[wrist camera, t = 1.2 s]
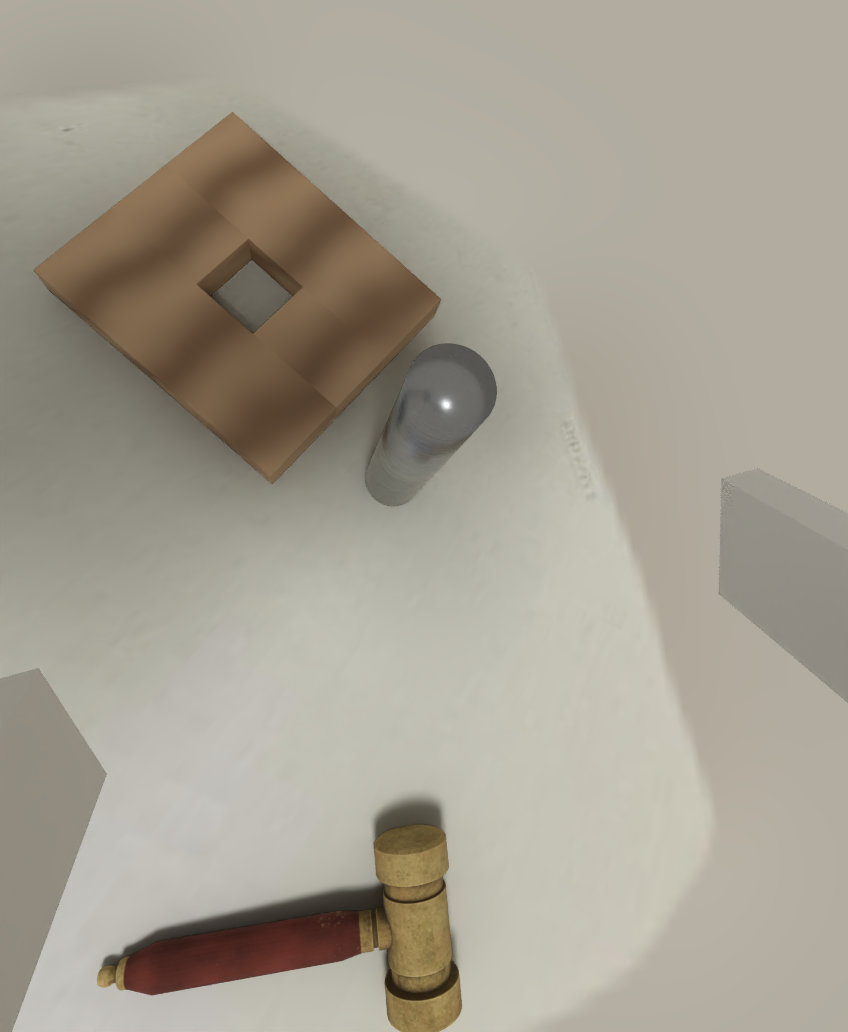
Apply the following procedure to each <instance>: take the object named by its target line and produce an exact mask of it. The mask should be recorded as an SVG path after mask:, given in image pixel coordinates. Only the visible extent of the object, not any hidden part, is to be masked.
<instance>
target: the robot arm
mask: <svg viewBox="0 0 848 1032" xmlns="http://www.w3.org/2000/svg"><path fill="white" fill-rule="evenodd" d="M720 528H721V529H720V567H719V594H720V595H721V596H722V597H723V598H724V599H726V600H727V601H728V602H729V603H730V604H731V605H732V606H734V607H735V608H736V609H737V610H738V611H740V612H741V613H742V614H743V615H744V616H746V617H747V618H748V619H749V620H750V621H752V622H753V623H754V624H755V625H756V626H757V627H759V628H760V629H761V630H762V631H763V632H764V633H766V634H767V635H768V636H769V637H770V638H772V639H773V640H774V641H775V642H776V643H778V644H779V645H780V646H781V647H782V648H784V649H785V650H786V651H787V652H788V653H789V654H791V655H792V656H793V657H794V658H795V659H796V660H798V661H799V662H800V663H801V664H802V665H804V666H805V667H806V668H807V669H808V670H810V671H811V672H812V673H813V674H814V675H816V676H817V677H818V678H819V679H820V680H821V681H823V682H824V683H825V684H826V685H827V686H829V687H830V688H831V689H832V690H833V691H834V692H836V693H837V694H838V695H839V696H840V697H842V698H843V699H844V700H845V701H846V702H848V513H847V512H844V511H843V510H840V509H838V508H836V507H834V506H832V505H830V504H828V503H826V502H824V501H822V500H820V499H818V498H816V497H814V496H812V495H810V494H808V493H806V492H804V491H802V490H800V489H798V488H796V487H794V486H792V485H790V484H788V483H786V482H784V481H782V480H780V479H778V478H776V477H774V476H772V475H770V474H768V473H766V472H764V471H762V470H760V469H754V470H751V471H747V472H744V473H740V474H736V475H733V476H729V477H725V478H722V482H721V524H720ZM106 775H107V773H106V772H105V770H104V769H103V767H102V766H101V764H100V762H99V761H98V759H97V758H96V756H95V755H94V753H93V752H92V750H91V749H90V747H89V745H88V744H87V742H86V741H85V739H84V738H83V736H82V735H81V733H80V732H79V730H78V728H77V727H76V725H75V724H74V722H73V721H72V719H71V718H70V716H69V715H68V713H67V711H66V710H65V708H64V707H63V705H62V704H61V702H60V701H59V699H58V698H57V696H56V694H55V693H54V691H53V690H52V688H51V687H50V685H49V684H48V682H47V681H46V679H45V677H44V676H43V674H42V673H41V671H40V670H39V668H38V669H34V670H30V671H27V672H23V673H20V674H16V675H12V676H9V677H5V678H2V679H0V1032H12V1030H13V1027H14V1024H15V1022H16V1019H17V1016H18V1014H19V1011H20V1008H21V1005H22V1003H23V1000H24V997H25V995H26V992H27V989H28V986H29V984H30V981H31V978H32V976H33V973H34V970H35V967H36V965H37V962H38V959H39V957H40V954H41V951H42V948H43V946H44V943H45V940H46V938H47V935H48V932H49V929H50V927H51V924H52V921H53V919H54V916H55V913H56V910H57V908H58V905H59V902H60V900H61V897H62V894H63V891H64V889H65V886H66V883H67V881H68V878H69V875H70V872H71V870H72V867H73V864H74V862H75V859H76V856H77V853H78V851H79V848H80V845H81V843H82V840H83V837H84V834H85V832H86V829H87V826H88V824H89V821H90V818H91V815H92V813H93V810H94V807H95V805H96V802H97V799H98V796H99V794H100V791H101V788H102V786H103V783H104V780H105V777H106Z"/></svg>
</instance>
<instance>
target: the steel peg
mask: <svg viewBox="0 0 848 1032" xmlns="http://www.w3.org/2000/svg"><path fill="white" fill-rule="evenodd" d="M496 395H497V387H496V381H495V378H494V375H493V373H492V370H491V369H490V367H489V365H488V364H487V363H486V361H485V360H484V359H483V358H482V357H481V356H480V355H478V354H477V353H476V352H474V351H473V350H471V349H469V348H467V347H464V346H461V345H457V344H449V343H448V344H439V345H435V346H432V347H430V348H428V349H426V350H425V351H423V352H422V353H421V354H419V355H418V356H417V358H416V359H415V360H414V362H413V363H412V365H411V367H410V369H409V372H408V374H407V376H406V379H405V381H404V383H403V386H402V388H401V390H400V393H399V395H398V397H397V400H396V402H395V404H394V407H393V409H392V411H391V414H390V416H389V419H388V421H387V423H386V426H385V428H384V430H383V433H382V435H381V437H380V440H379V442H378V444H377V447H376V449H375V451H374V454H373V456H372V458H371V461H370V463H369V465H368V468H367V470H366V474H365V482H366V487H367V489H368V491H369V493H370V494H371V496H372V497H373V498H374V499H375V500H377V501H378V502H380V503H382V504H384V505H387V506H399V505H403V504H405V503H407V502H409V501H410V500H411V499H412V498H413V497H414V496H415V495H416V494H417V493H418V492H419V491H420V490H421V488H422V487H423V486H424V485H425V484H426V483H427V482H428V481H429V480H430V479H431V478H432V477H433V475H434V474H435V473H436V472H437V471H438V470H439V469H440V468H441V467H442V466H443V465H444V464H445V463H446V461H447V460H448V459H449V458H450V457H451V456H452V455H453V454H454V453H455V452H456V451H457V450H458V449H459V447H460V446H461V445H462V444H463V443H464V442H465V441H466V440H467V439H468V438H469V437H470V436H471V435H472V433H473V432H474V431H475V430H476V429H477V428H478V427H479V426H480V425H481V424H482V423H483V422H484V420H485V419H486V418H487V417H488V416H489V414H490V413H491V411H492V409H493V407H494V405H495V401H496Z"/></svg>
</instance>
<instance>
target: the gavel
mask: <svg viewBox="0 0 848 1032" xmlns="http://www.w3.org/2000/svg"><path fill="white" fill-rule="evenodd" d="M374 853H375V865H376V876H377V878H378V879H379V881H381V882H382V883H384V884H385V887H384V889H383V902H384V907H379V908H376V911H375V912H371V909H370V910H365V911H335V912H329V913H323V914H317V915H311V916H305V917H299V918H293V919H288V920H282V921H276V922H270V923H264V924H258V925H252V926H246V927H240V928H234V929H228V930H222V931H216V932H210V933H205V934H199V935H193V936H187V937H181V938H175V939H169V940H163V941H157V942H155V943H153V944H151V945H150V946H148V947H146V948H144V949H142V950H140V951H138V952H137V953H135V954H133V955H131V956H127V957H124V958H123V959H121V960H120V962H119V964H118V966H116V967H114V966H112V965H108V966H105V967H103V968H102V969H101V970H100V971H99V973H98V977H97V984H98V986H100V987H108V986H110V985H111V984H113V983H116V987H117V988H118V989H119V990H131V991H135V992H140V993H144V994H148V995H156V994H162V993H168V992H173V991H179V990H184V989H190V988H195V987H201V986H206V985H212V984H217V983H223V982H228V981H234V980H239V979H245V978H251V977H256V976H262V975H267V974H273V973H278V972H284V971H289V970H295V969H300V968H306V967H311V966H317V965H323V964H328V963H334V962H339V961H343V960H345V959H348V958H351V957H353V956H356V955H358V954H361V953H365V952H371V951H374V948H376V947H379V951H380V950H385V949H387V952H388V963H389V966H390V968H391V969H390V970H389V971H388V973H387V974H386V977H385V992H386V1005H387V1016H388V1020H389V1021H390V1023H391V1025H392V1026H393V1027H395V1028H396V1029H397V1030H399V1031H401V1032H439V1031H441V1030H443V1029H445V1028H447V1027H448V1026H450V1025H451V1024H452V1023H453V1022H454V1021H455V1020H456V1019H457V1018H458V1016H459V1015H460V1012H461V1009H462V999H461V989H460V978H459V970H458V967H457V965H456V964H455V963H454V962H453V961H452V960H451V958H452V948H451V937H450V927H449V916H448V906H447V895H446V885H445V882H444V880H443V879H442V876H443V875H444V874H445V873H446V872H447V870H448V868H449V863H448V853H447V843H446V834H445V833H444V832H443V831H442V830H441V829H439V828H437V827H434V826H431V825H424V824H415V825H409V826H404V827H398V828H393V829H390V830H388V831H386V832H384V833H383V834H381V835H380V836H379V837H378V838H377V839H376V840H375V842H374Z"/></svg>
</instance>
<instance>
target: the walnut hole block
mask: <svg viewBox="0 0 848 1032" xmlns="http://www.w3.org/2000/svg"><path fill="white" fill-rule="evenodd" d="M251 259H252V260H253V261H254V262H255V263H256V264H257V265H259V266H260V267H261V268H262V269H263V270H264V271H265V272H266V273H268V274H269V275H270V276H271V277H272V278H273V279H274V280H275V281H277V282H278V283H279V284H280V285H281V286H282V287H283V288H284V289H286V290H287V291H288V292H289V293H290V294H291V295H292V296H293V297H292V298H291V299H290V300H289V301H288V302H286V303H285V304H284V305H283V306H282V307H281V308H280V309H279V310H278V311H277V312H276V313H275V314H274V315H273V316H272V317H270V318H269V319H268V320H267V321H266V322H265V323H264V324H263V325H262V326H261V327H260V328H259V329H258V330H257V331H255V332H254V333H253V334H252V333H251V332H250V331H249V330H248V329H247V328H245V327H244V326H243V325H242V324H241V323H240V322H239V321H237V320H236V319H235V318H234V317H233V316H232V315H231V314H230V313H228V312H227V311H226V310H225V309H224V308H223V307H222V306H220V305H219V304H218V303H217V302H216V301H215V300H214V299H212V298H211V297H210V296H211V295H212V294H213V293H214V292H216V291H217V290H218V289H219V288H220V287H221V286H222V285H223V284H225V283H226V282H227V281H228V280H229V279H230V278H231V277H232V276H234V275H235V274H236V273H237V272H238V271H239V270H240V269H241V268H243V267H244V266H245V265H246V264H247V263H248V262H249V261H250V260H251ZM34 272H35V273H36V274H37V275H38V277H39V278H40V279H41V280H42V282H43V283H44V284H45V286H46V287H47V288H48V289H49V291H51V292H52V293H53V294H54V295H55V296H56V297H57V298H59V299H60V300H61V301H62V302H63V303H64V304H66V305H67V306H68V307H69V308H70V309H71V310H72V311H74V312H75V313H76V314H77V315H78V316H79V317H80V318H82V319H83V320H84V321H85V322H86V323H87V324H89V325H90V326H91V327H92V328H93V329H94V330H95V331H97V332H98V333H99V334H100V335H101V336H102V337H104V338H105V339H106V340H107V341H108V342H109V343H110V344H112V345H113V346H114V347H115V348H116V349H117V350H119V351H120V352H121V353H122V354H123V355H124V356H125V357H127V358H128V359H129V360H130V361H131V362H132V363H134V364H135V365H136V366H137V367H138V368H139V369H140V370H142V371H143V372H144V373H145V374H146V375H147V376H149V377H150V378H151V379H152V380H153V381H154V382H155V383H157V384H158V385H159V386H160V387H161V388H162V389H163V390H165V391H166V392H167V393H168V394H169V395H170V396H172V397H173V398H174V399H175V400H176V401H177V402H178V403H180V404H181V405H182V406H183V407H184V408H185V409H187V410H188V411H189V412H190V413H191V414H192V415H193V416H195V417H196V418H197V419H198V420H199V421H200V422H202V423H203V424H204V425H205V426H206V427H207V428H208V429H210V430H211V431H212V432H213V433H214V434H215V435H217V436H218V437H219V438H220V439H221V440H222V441H223V442H225V443H226V444H227V445H228V446H229V447H230V448H232V449H233V450H234V451H235V452H236V453H237V454H238V455H240V456H241V457H242V458H243V459H244V460H245V461H246V462H248V463H249V464H250V465H251V466H252V467H253V468H255V469H256V470H257V471H258V472H259V473H260V474H261V475H263V476H264V477H265V478H266V479H267V480H268V481H270V482H271V483H272V484H273V483H274V482H275V481H276V480H277V479H278V478H279V477H280V476H281V475H282V474H283V473H284V472H285V470H286V469H287V468H288V467H289V466H290V465H291V464H292V463H293V462H294V461H295V460H296V459H297V458H298V457H299V456H300V455H301V454H302V453H303V452H304V451H305V450H306V449H307V448H308V447H309V446H310V444H311V443H312V442H313V441H314V440H315V439H316V438H317V437H318V436H319V435H320V434H321V433H322V432H323V431H324V430H325V429H326V428H327V427H328V426H329V425H330V424H331V423H332V422H333V421H334V420H335V419H336V417H337V416H338V415H339V414H340V413H341V412H342V411H343V410H344V409H345V408H346V407H347V406H348V405H349V404H350V403H351V402H352V401H353V400H354V399H355V398H356V397H357V396H358V395H359V394H360V393H361V392H362V390H363V389H364V388H365V387H366V386H367V385H368V384H369V383H370V382H371V381H372V380H373V379H374V378H375V377H376V376H377V375H378V374H379V373H380V372H381V371H382V370H383V369H384V368H385V367H386V366H387V365H388V363H389V362H390V361H391V360H392V359H393V358H394V357H395V356H396V355H397V354H398V353H399V352H400V351H401V350H402V349H403V348H404V347H405V346H406V345H407V344H408V343H409V342H410V341H411V340H412V339H413V338H414V336H415V335H416V334H417V333H418V332H419V331H420V330H421V329H422V328H423V327H424V326H425V325H426V324H427V323H428V322H429V321H430V320H431V319H432V318H433V317H434V315H435V313H436V311H437V308H438V306H439V304H440V301H441V299H440V298H439V297H438V296H437V295H436V294H435V293H434V292H433V291H431V290H430V289H429V288H428V287H427V286H426V285H425V284H424V283H423V282H421V281H420V280H419V279H418V278H417V277H416V276H415V275H414V274H413V273H411V272H410V271H409V270H408V269H407V268H406V267H405V266H404V265H402V264H401V263H400V262H399V261H398V260H397V259H396V258H395V257H394V256H392V255H391V254H390V253H389V252H388V251H387V250H386V249H385V248H384V247H382V246H381V245H380V244H379V243H378V242H377V241H376V240H375V239H374V238H372V237H371V236H370V235H369V234H368V233H367V232H366V231H365V230H364V229H362V228H361V227H360V226H359V225H358V224H357V223H356V222H355V221H354V220H352V219H351V218H350V217H349V216H348V215H347V214H346V213H345V212H343V211H342V210H341V209H340V208H339V207H338V206H337V205H336V204H335V203H333V202H332V201H331V200H330V199H329V198H328V197H327V196H326V195H325V194H323V193H322V192H321V191H320V190H319V189H318V188H317V187H316V186H315V185H313V184H312V183H311V182H310V181H309V180H308V179H307V178H306V177H305V176H303V175H302V174H301V173H300V172H299V171H298V170H297V169H296V168H294V167H293V166H292V165H291V164H290V163H289V162H288V161H287V160H286V159H284V158H283V157H282V156H281V155H280V154H279V153H278V152H277V151H276V150H274V149H273V148H272V147H271V146H270V145H269V144H268V143H267V142H266V141H264V140H263V139H262V138H261V137H260V136H259V135H258V134H257V133H256V132H254V131H253V130H252V129H251V128H250V127H249V126H248V125H247V124H245V123H244V122H243V121H242V120H241V119H240V118H239V117H238V116H237V115H235V114H234V113H233V112H232V113H230V114H229V115H228V116H227V117H225V118H224V119H223V120H222V121H220V122H219V123H218V124H217V125H215V126H214V127H213V128H212V129H210V130H209V131H208V132H207V133H205V134H204V135H203V136H201V137H200V138H199V139H198V140H196V141H195V142H194V143H193V144H191V145H190V146H189V147H188V148H186V149H185V150H184V151H183V152H181V153H180V154H179V155H178V156H176V157H175V158H174V159H172V160H171V161H170V162H169V163H167V164H166V165H165V166H164V167H162V168H161V169H160V170H159V171H157V172H156V173H155V174H154V175H152V176H151V177H150V178H149V179H147V180H146V181H145V182H144V183H142V184H141V185H140V186H138V187H137V188H136V189H135V190H133V191H132V192H131V193H130V194H128V195H127V196H126V197H125V198H123V199H122V200H121V201H120V202H118V203H117V204H116V205H115V206H113V207H112V208H111V209H109V210H108V211H107V212H106V213H104V214H103V215H102V216H101V217H99V218H98V219H97V220H96V221H94V222H93V223H92V224H91V225H89V226H88V227H87V228H86V229H84V230H83V231H82V232H81V233H79V234H78V235H77V236H75V237H74V238H73V239H72V240H70V241H69V242H68V243H67V244H65V245H64V246H63V247H62V248H60V249H59V250H58V251H57V252H55V253H54V254H53V255H52V256H50V257H49V258H48V259H46V260H45V261H44V262H43V263H41V264H40V265H39V266H38V267H36V268H35V269H34Z"/></svg>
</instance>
